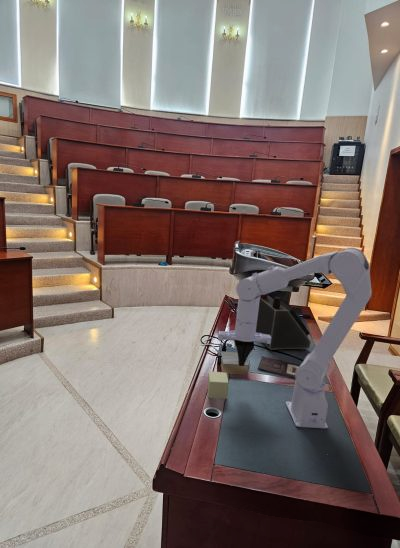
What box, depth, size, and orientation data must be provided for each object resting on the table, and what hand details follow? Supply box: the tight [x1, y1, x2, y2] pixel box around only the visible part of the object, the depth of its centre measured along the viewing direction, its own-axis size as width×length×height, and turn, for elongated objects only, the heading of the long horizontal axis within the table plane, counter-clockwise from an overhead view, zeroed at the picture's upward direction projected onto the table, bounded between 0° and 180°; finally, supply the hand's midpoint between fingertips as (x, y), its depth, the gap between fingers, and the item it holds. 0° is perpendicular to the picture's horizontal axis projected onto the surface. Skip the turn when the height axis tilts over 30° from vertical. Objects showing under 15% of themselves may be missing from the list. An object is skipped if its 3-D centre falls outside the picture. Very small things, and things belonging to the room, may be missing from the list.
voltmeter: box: [256, 293, 312, 351], centre depth 125 cm, size 16×16×20 cm
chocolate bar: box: [257, 356, 301, 380], centre depth 107 cm, size 9×1×18 cm
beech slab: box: [220, 351, 250, 375], centre depth 105 cm, size 4×8×8 cm
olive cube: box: [206, 371, 229, 400], centre depth 90 cm, size 5×5×5 cm
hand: (241, 364), depth 93 cm, fingers closed
